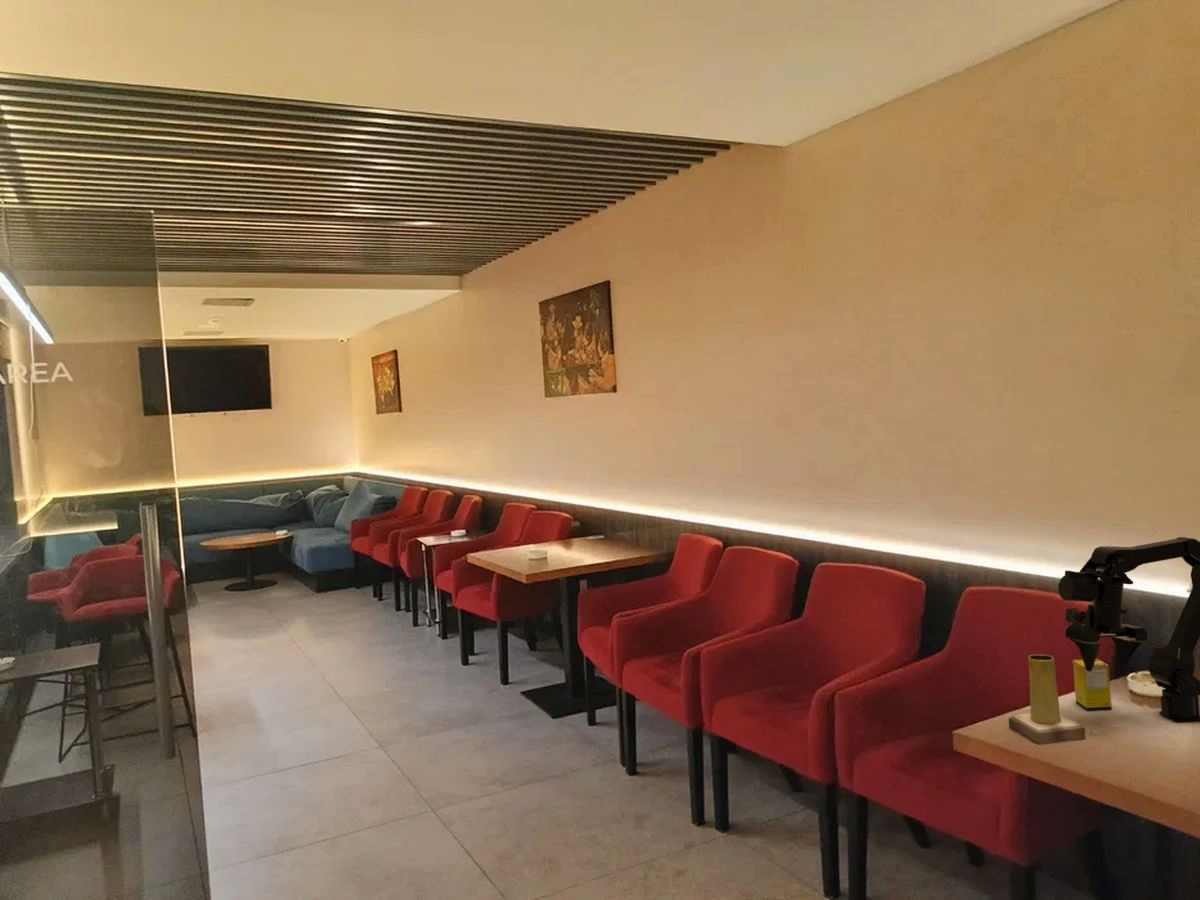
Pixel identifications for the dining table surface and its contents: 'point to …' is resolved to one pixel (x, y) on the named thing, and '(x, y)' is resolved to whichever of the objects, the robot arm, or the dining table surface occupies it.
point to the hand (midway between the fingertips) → (1104, 670)
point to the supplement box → (1092, 686)
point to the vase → (1043, 689)
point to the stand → (1046, 729)
